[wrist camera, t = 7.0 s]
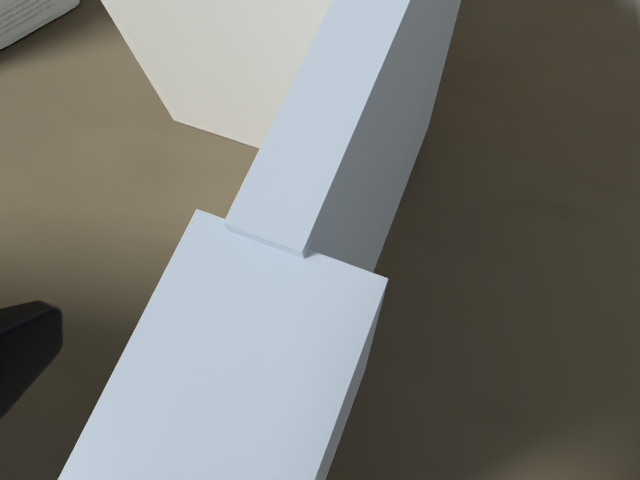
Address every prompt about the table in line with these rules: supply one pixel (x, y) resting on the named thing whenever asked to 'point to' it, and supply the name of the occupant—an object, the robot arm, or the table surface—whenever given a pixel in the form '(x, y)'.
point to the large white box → (220, 57)
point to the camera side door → (280, 272)
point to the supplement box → (28, 16)
